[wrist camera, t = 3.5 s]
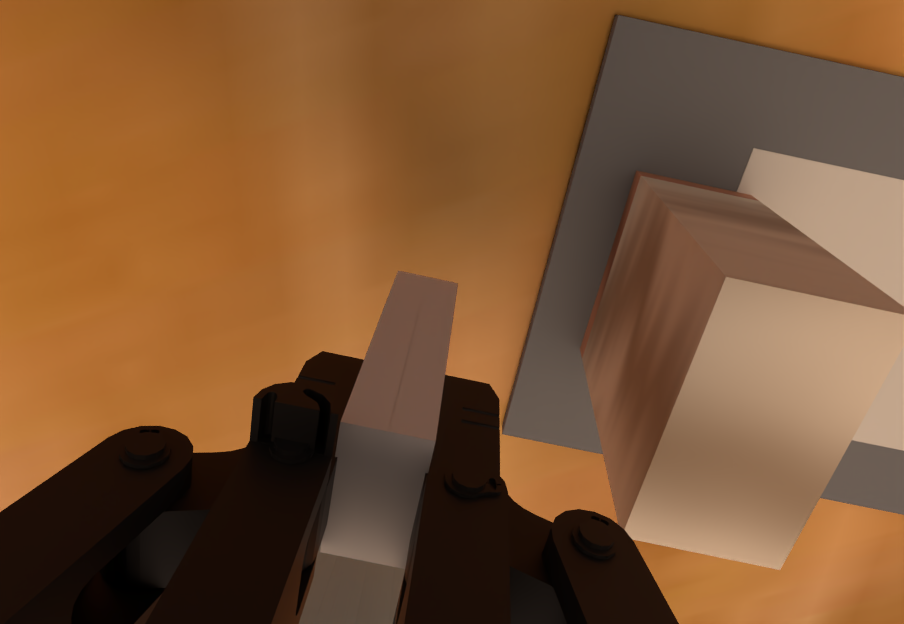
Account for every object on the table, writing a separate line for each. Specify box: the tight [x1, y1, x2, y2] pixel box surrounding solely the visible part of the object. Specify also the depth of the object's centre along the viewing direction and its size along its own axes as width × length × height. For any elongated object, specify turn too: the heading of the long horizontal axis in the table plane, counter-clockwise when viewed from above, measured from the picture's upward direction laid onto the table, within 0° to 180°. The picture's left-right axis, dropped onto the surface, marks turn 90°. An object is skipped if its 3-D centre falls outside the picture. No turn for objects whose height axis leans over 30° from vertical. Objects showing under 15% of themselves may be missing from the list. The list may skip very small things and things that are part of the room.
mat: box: [502, 15, 904, 515], centre depth 24 cm, size 16×20×1 cm
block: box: [580, 170, 904, 570], centre depth 19 cm, size 7×4×10 cm, turn 169°
